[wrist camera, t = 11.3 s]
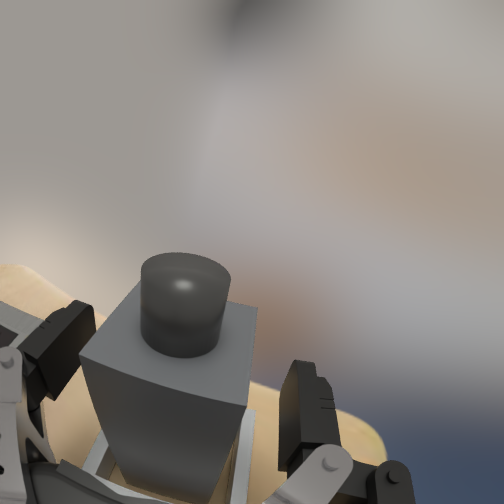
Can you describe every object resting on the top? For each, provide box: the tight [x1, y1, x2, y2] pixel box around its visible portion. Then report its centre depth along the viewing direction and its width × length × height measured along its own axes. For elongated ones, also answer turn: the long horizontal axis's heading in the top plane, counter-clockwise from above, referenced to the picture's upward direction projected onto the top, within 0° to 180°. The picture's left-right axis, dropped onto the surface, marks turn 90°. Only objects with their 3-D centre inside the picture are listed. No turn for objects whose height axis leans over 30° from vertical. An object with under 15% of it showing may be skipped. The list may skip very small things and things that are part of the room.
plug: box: [79, 253, 258, 504], centre depth 10 cm, size 4×4×13 cm
